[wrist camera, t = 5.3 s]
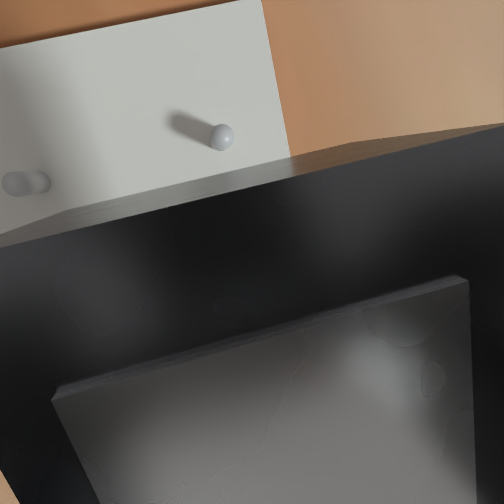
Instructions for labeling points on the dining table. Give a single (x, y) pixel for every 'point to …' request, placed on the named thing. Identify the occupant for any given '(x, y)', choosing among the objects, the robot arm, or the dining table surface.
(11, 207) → the tray
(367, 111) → the dining table surface
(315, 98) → the dining table surface
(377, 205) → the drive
